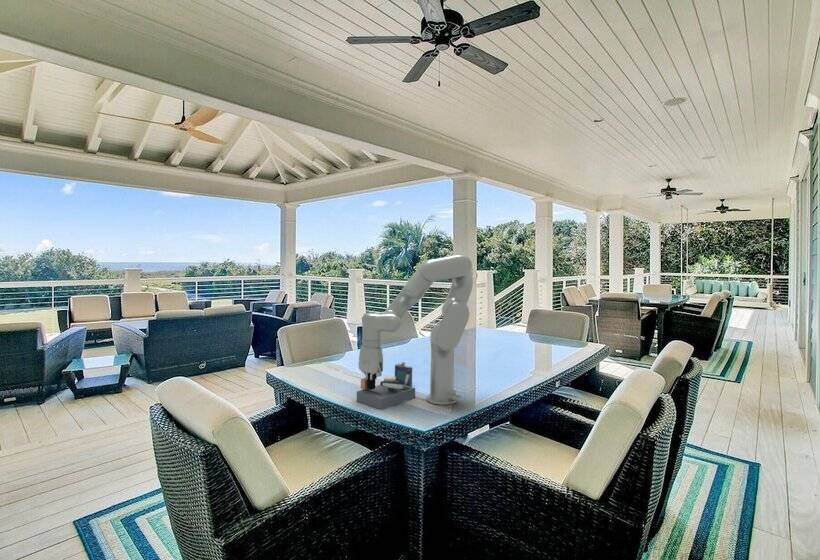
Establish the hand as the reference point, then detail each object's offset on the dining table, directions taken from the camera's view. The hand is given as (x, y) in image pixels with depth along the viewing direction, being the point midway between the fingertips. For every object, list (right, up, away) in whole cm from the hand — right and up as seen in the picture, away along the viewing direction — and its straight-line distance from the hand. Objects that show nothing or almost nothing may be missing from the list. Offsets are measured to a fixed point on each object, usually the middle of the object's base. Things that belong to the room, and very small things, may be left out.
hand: (371, 388), depth 169 cm
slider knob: (-3, -1, +2) cm, 4 cm away
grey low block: (+6, -5, +3) cm, 8 cm away
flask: (+12, -5, +24) cm, 27 cm away
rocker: (+9, +1, 0) cm, 9 cm away
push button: (+7, 0, +9) cm, 12 cm away
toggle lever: (+13, 0, +4) cm, 14 cm away
